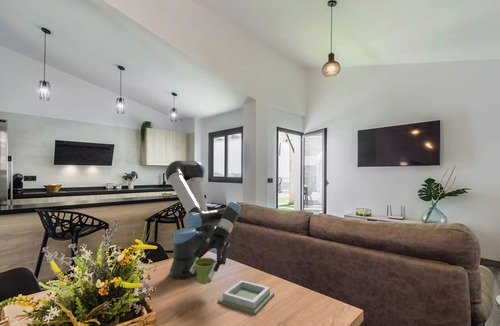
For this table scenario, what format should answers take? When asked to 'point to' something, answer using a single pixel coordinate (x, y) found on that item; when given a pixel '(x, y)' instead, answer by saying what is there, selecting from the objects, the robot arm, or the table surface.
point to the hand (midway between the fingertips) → (200, 275)
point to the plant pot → (204, 269)
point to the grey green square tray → (247, 296)
